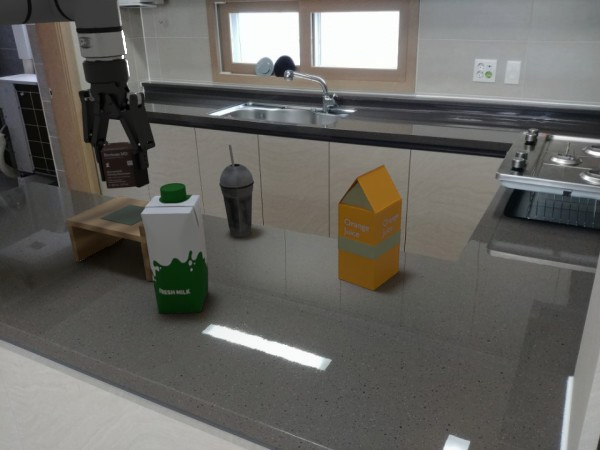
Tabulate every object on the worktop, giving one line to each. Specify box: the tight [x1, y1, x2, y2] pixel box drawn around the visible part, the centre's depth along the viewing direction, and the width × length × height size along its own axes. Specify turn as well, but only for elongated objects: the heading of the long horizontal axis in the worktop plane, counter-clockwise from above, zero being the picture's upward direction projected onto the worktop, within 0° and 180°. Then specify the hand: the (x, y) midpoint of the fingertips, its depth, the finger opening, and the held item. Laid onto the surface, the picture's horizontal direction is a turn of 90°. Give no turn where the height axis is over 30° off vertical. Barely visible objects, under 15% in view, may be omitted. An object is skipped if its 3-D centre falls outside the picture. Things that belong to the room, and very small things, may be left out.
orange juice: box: [337, 164, 403, 292], centre depth 94 cm, size 8×9×20 cm
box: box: [101, 141, 137, 190], centre depth 101 cm, size 6×6×7 cm
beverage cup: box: [218, 144, 255, 238], centre depth 113 cm, size 7×7×20 cm
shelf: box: [65, 195, 153, 282], centre depth 106 cm, size 20×14×11 cm
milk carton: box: [141, 182, 209, 314], centre depth 88 cm, size 9×9×20 cm
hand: (125, 182), depth 102 cm, fingers closed on box, 8 cm apart
